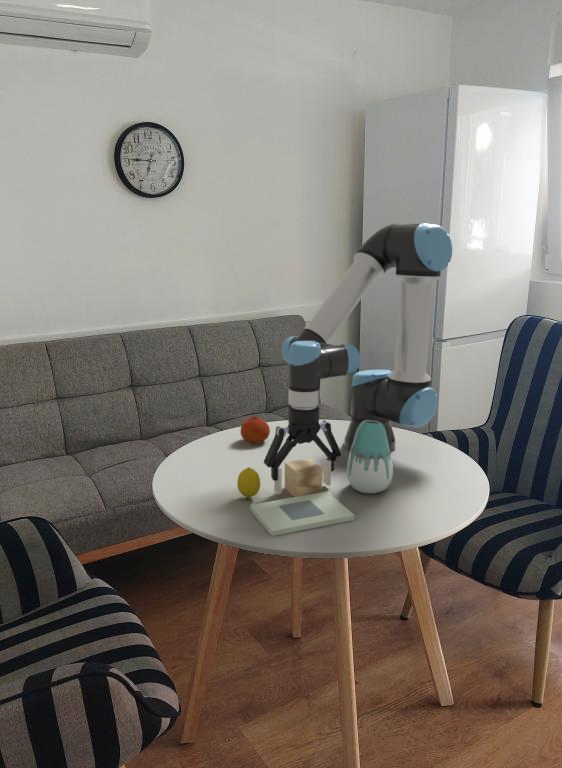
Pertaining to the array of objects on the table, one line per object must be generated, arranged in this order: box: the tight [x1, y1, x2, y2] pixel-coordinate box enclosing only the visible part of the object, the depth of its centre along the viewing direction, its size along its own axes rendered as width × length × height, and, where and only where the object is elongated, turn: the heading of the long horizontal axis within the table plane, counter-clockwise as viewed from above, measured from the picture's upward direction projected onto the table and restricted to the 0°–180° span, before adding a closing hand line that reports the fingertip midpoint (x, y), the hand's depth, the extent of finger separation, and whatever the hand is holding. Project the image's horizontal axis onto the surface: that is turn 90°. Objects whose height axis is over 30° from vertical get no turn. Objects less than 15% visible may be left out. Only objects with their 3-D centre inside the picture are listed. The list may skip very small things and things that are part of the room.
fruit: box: [240, 415, 271, 444], centre depth 196 cm, size 9×9×8 cm
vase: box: [346, 420, 394, 494], centre depth 160 cm, size 12×12×18 cm
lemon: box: [236, 467, 261, 499], centre depth 156 cm, size 6×6×8 cm
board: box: [249, 491, 355, 537], centre depth 148 cm, size 20×14×1 cm
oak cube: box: [284, 458, 323, 497], centre depth 160 cm, size 7×7×7 cm
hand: (302, 487), depth 161 cm, fingers open, 13 cm apart
